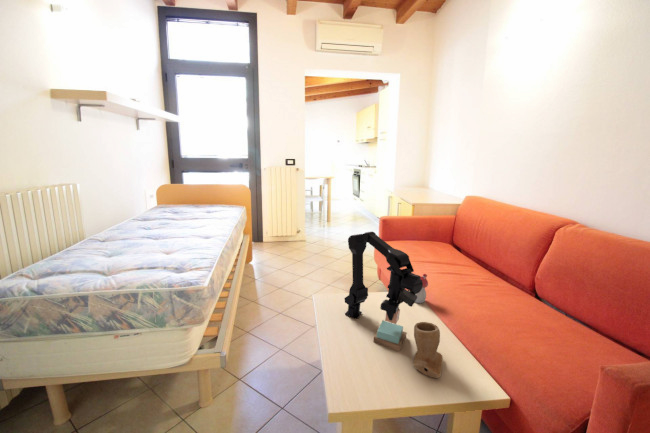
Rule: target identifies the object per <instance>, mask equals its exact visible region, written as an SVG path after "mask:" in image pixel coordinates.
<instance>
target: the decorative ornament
mask: <svg viewBox="0 0 650 433" xmlns="http://www.w3.org/2000/svg"><path fill="white" fill-rule="evenodd" d="M427 277H428V275H427V274H426V273H423V274H422V276H420V279H421V280H422V283H423V287H422V289H421V291H420V292H419V293H417V294H416V295H417V299H416V301H415V302H414V304H422V303H424V302H425V301H426V299H427V291H426V289H425V288H427V287H428V286H429V282H428V279H427Z"/></svg>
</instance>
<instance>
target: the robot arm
mask: <svg viewBox="0 0 650 433" xmlns="http://www.w3.org/2000/svg"><path fill="white" fill-rule="evenodd" d="M347 242H348V249H349V250H350V252H351V256H352V257H351V260H352V261H351V262H352V264H351V265H352V266H351V268H352V283H351V285H350V287H349V290H348V291H349V292H348V295H346V296H345V297H344V303H345V304H347V311H346V312H345V313H344V314H345V316H348V317H351V318H354V319H359V317H360V316H361V315H362V314H363V312H362V311H361V304H362V303H365V302H366V300H367V299H368V296H369V288H368V287H366V286H365V284H364V252H365V250H366V248H367V243H368V244H369V245H371V246H372V247H373V248H374V249H376V251H378V252H379V253H380V254H381V255H382V256H383V257H384V258H385V260H386V263H387V264H388V265H389V266H388V267H386V270H387V271H389V272H390V277H389V283H388V285H387V289H388V291H387V292H388V293H386V298H388V299H384V300H382V302H381V304H380V307H379V308H380V310H381V311H385V314H386V313H387V315H388V318H389V320H390V321H392V319H393V316H394V313H396V312H397V311H398V309H400V305H401V304H402V303H403V302H404V303H405V304H406V305H408V306H409V307H411V308H412V307H413V306H414V304H415V301H416V299H417V295H416V294H417V293H419V292H420V291H421V289H422V287H423V283H422V280H421V279H420V277H421V275H418V274H416V273H414V272H415V271H414V267H413V265H412V263H411V260H410V256H409V254H408V253H406V252H404V251H402V250H401V249H397V248H394V247H392V246H391V245H390V244H389V243H387V242H386V241H385V240H383V238H381V237H380V236H378V235H377V234H376V232H374V231H367V232H364V233H359V234H353V235H349V237H348V239H347Z"/></svg>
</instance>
